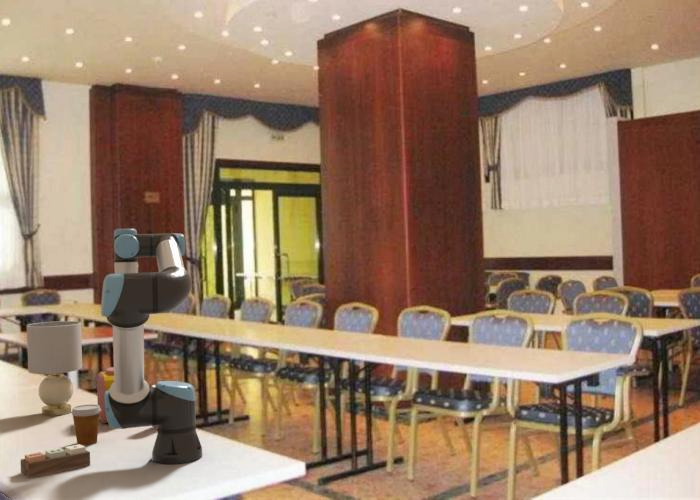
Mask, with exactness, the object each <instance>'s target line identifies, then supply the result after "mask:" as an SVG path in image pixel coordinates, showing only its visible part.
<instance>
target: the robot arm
mask: <svg viewBox="0 0 700 500" xmlns="http://www.w3.org/2000/svg"><path fill="white" fill-rule="evenodd" d="M113 250H114V251H113V253H114V254H113V255H114V265H113V266H114V267H113V268H114V273H110V274H107V275H106V276H105V277H104V279H103V283H102V290H101V292H102V293H101V301H100V302H101V303H100V315H101V316H102V317H105V318H106V321H107V323H109V325H111V326H112V347H113V349H112V351H113V367H114V382H113V383H112V385H111V386H110V389H109V390H108V391H106V392H105V408H106V416H107V420H108V422H107V423H108V426H109V427H110V428H111V429H114V430H115V429H116V430H117V429H118V430H119V429H122V430H126V429H132V428H133V429H134V428H143V427H144V428H145V427H152V426H156V425H157V429H156V430H157V435H156V438H155V441H154V445H153V448H152V454H151V457H152V459H151V460H152V461H153V462H154V463H158V464H166V465H170V464H171V465H174V464H175V465H176V464H185V463H190V462H194V461H196V460H199V459H200V458H202V457H203V447H202V445H201V442H200V439H199V435H198V433H197V426H196V425H197V421H196V418H197V417H196V401H197V398H196V394H195V393H196V391H195V387H194V385H192V384H190V383H188V382H184V381H178V380H160V381H157V382H156V383H155V385H156V387H152V386H151V387H150V385H149V383H148V382H147V381H146V380H145V324H147V322H148V321H149V319H150V315H157V314H166V313H168V312H171V311H173V310H175V309H177V308H178V307H180V306H181V305H182V304H183V303H184V302H185V301H186V300H187V299H188V297H189V296H190V293H191V290H192V286H193V285H192V279H191V278H192V277H191V276H190V273H189V272H188V271H187V270H186V269H185V266H184V261H183V256H185V253H186V238H185V235H184V234H182V233H177V232H176V233H174V232H171V233H138V231H137V229H136V228H116V229H114V230H113ZM138 258H156V262H157V263H156V264H157V269H158V271H155V272H154V271H152V272H139V266H140V265H139V260H138Z"/></svg>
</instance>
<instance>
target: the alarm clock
mask: <svg viewBox="0 0 700 500" xmlns="http://www.w3.org/2000/svg"><path fill="white" fill-rule="evenodd" d="M96 377H97V378H96V391H97V393H96V395H97V397H96V398H97V405H99V406H100V409H101V411H100V416H99V421H100V422H101V423H103V424H107V423H108V420H107V416H106V408H105V392H106V391H108V390H109V389H110V386H111V385H112V383H113V382H114V366H111V367H107V368H106V369H105V371H100V372H98V374H97V376H96Z"/></svg>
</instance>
